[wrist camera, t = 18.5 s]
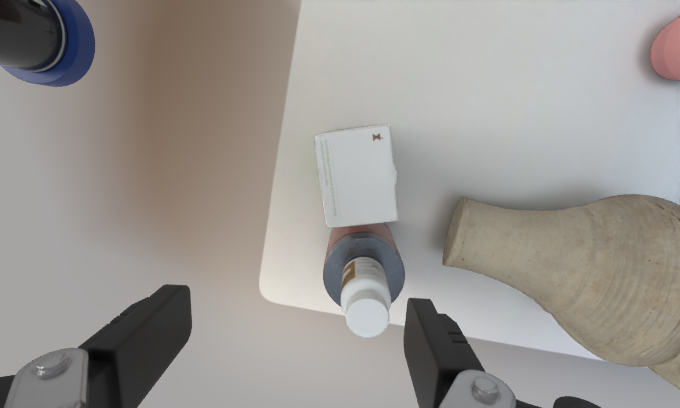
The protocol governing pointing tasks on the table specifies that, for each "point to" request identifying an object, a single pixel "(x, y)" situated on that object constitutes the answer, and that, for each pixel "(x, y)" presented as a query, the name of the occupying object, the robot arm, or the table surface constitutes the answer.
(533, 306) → the table surface
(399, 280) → the tin can
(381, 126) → the cosmetic box
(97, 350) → the robot arm
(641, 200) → the vase
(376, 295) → the pill bottle
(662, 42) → the pink bud vase
